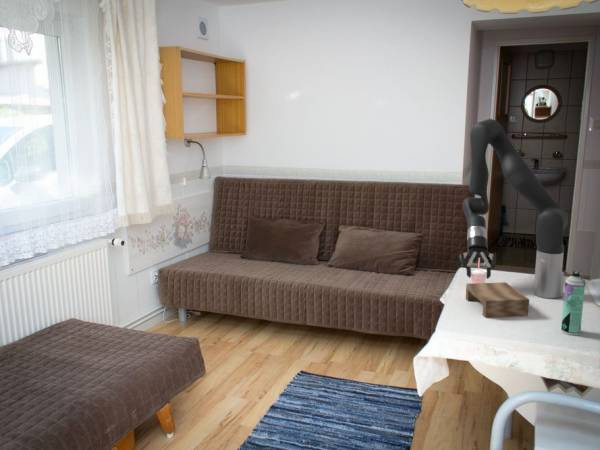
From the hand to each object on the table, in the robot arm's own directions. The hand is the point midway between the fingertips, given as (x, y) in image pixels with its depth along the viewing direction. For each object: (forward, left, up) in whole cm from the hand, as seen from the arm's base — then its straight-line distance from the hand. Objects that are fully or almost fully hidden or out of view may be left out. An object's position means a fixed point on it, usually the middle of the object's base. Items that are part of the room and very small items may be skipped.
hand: (478, 277), depth 211 cm
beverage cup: (0, -2, -7) cm, 7 cm away
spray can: (-15, +38, -7) cm, 42 cm away
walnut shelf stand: (-1, +14, -7) cm, 16 cm away
